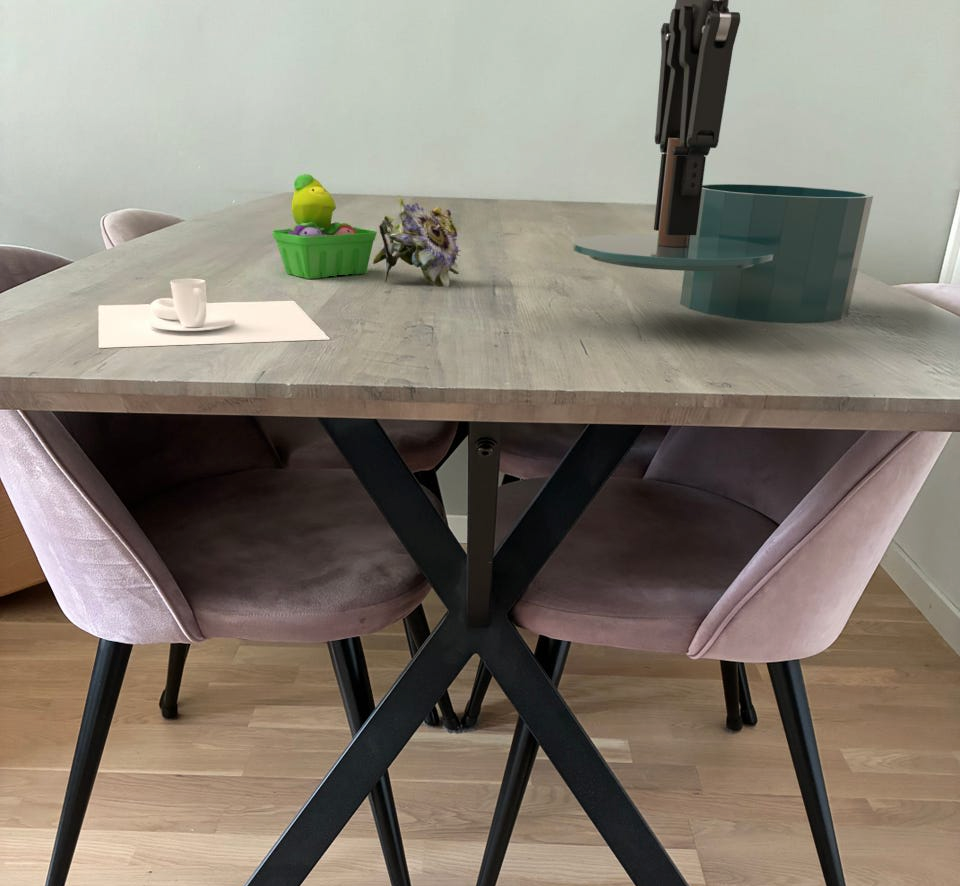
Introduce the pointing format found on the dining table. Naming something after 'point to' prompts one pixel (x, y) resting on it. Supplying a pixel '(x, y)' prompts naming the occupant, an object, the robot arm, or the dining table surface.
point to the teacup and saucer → (202, 321)
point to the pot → (781, 252)
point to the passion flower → (421, 242)
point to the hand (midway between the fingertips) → (674, 231)
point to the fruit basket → (321, 236)
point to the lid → (673, 244)
